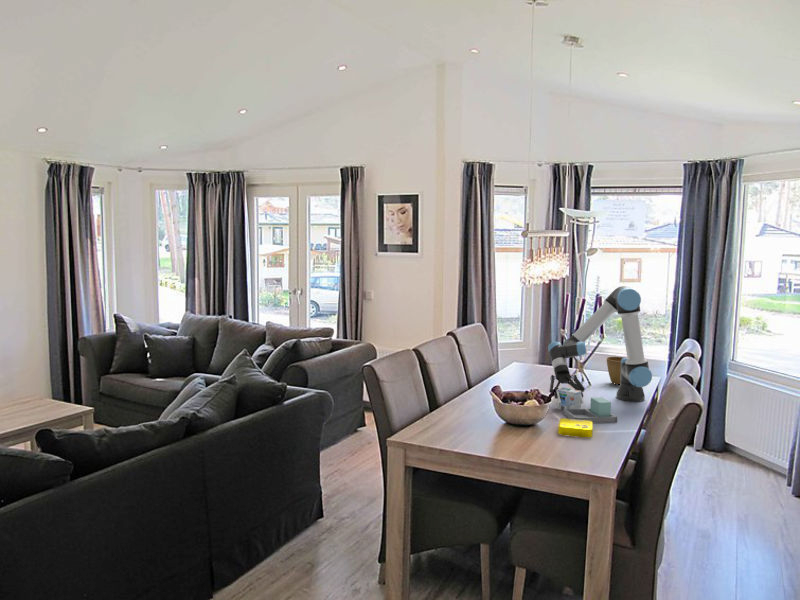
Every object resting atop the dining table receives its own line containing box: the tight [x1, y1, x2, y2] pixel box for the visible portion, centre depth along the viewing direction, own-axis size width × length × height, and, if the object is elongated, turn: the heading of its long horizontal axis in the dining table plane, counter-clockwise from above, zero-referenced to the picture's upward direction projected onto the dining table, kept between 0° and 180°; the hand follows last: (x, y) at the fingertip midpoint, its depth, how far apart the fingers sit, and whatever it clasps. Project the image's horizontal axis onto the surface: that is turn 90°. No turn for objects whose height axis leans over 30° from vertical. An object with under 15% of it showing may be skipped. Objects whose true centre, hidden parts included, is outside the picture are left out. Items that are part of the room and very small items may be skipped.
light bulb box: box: [556, 387, 582, 411], centre depth 317 cm, size 11×7×11 cm, turn 45°
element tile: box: [557, 417, 594, 438], centre depth 282 cm, size 15×15×5 cm
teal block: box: [589, 396, 612, 417], centre depth 302 cm, size 6×10×9 cm, turn 6°
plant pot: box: [606, 356, 625, 385], centre depth 381 cm, size 15×15×16 cm
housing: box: [562, 408, 618, 424], centre depth 302 cm, size 21×16×3 cm
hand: (570, 403), depth 314 cm, fingers closed on light bulb box, 11 cm apart
